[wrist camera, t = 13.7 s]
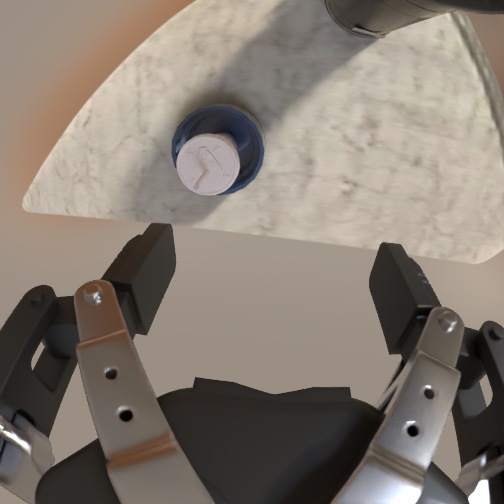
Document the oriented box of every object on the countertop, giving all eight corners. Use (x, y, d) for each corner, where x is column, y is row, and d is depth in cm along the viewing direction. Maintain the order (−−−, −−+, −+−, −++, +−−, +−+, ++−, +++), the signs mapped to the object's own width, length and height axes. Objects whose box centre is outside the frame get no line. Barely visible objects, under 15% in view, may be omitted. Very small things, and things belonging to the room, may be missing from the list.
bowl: (168, 129, 35) (155, 135, 31) (240, 88, 32) (235, 88, 28) (208, 195, 40) (201, 208, 36) (279, 161, 37) (280, 171, 33)
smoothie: (204, 172, 38) (170, 218, 26) (194, 127, 34) (151, 152, 22) (251, 165, 37) (238, 210, 25) (244, 118, 33) (224, 138, 21)
